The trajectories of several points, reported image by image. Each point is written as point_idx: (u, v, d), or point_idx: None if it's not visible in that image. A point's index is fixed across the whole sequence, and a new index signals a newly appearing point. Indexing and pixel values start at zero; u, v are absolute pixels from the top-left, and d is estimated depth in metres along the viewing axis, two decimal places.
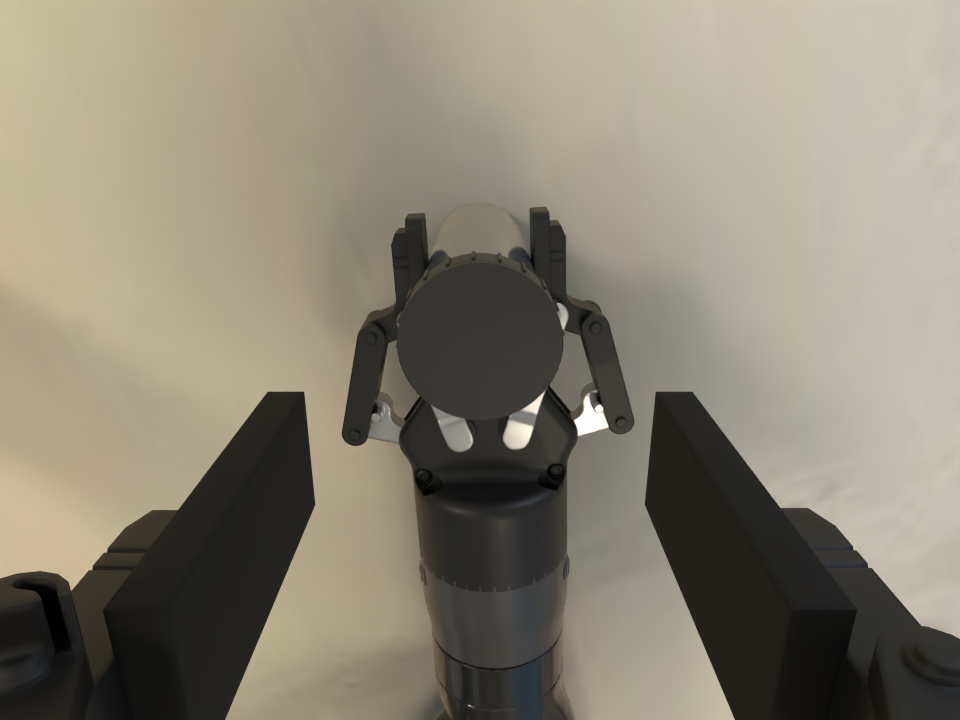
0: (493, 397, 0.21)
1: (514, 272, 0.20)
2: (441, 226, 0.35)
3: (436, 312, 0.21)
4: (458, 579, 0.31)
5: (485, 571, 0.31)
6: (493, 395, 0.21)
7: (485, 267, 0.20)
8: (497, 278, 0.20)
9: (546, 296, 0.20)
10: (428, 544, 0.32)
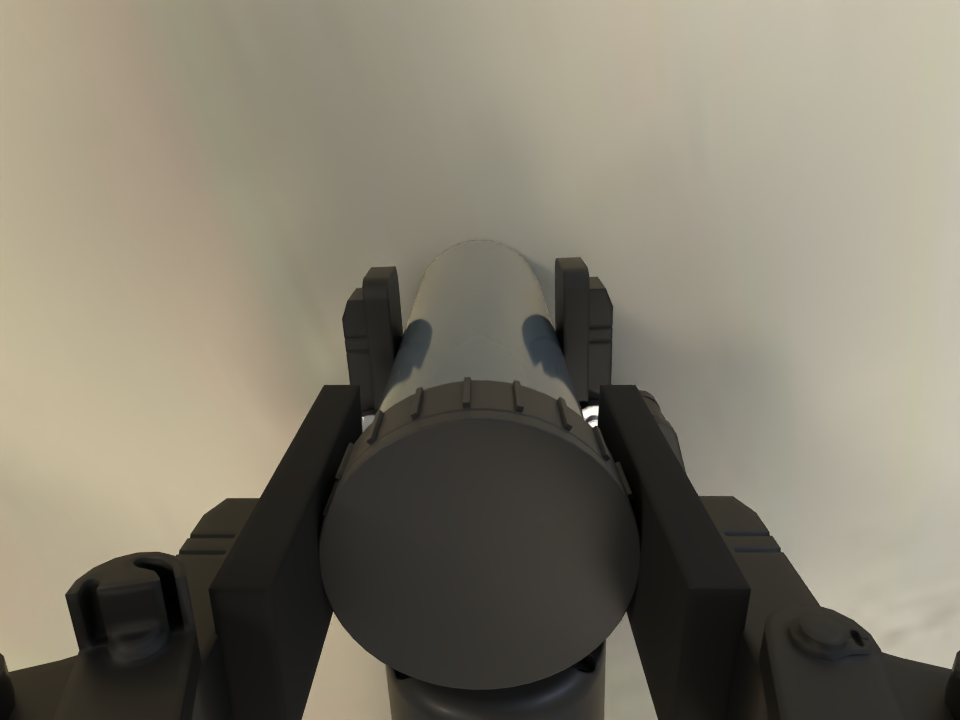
0: (505, 653, 0.11)
1: (549, 437, 0.10)
2: (425, 273, 0.25)
3: (393, 509, 0.10)
4: None
5: None
6: (505, 650, 0.11)
7: (490, 428, 0.10)
8: (514, 448, 0.10)
9: (612, 480, 0.10)
10: None
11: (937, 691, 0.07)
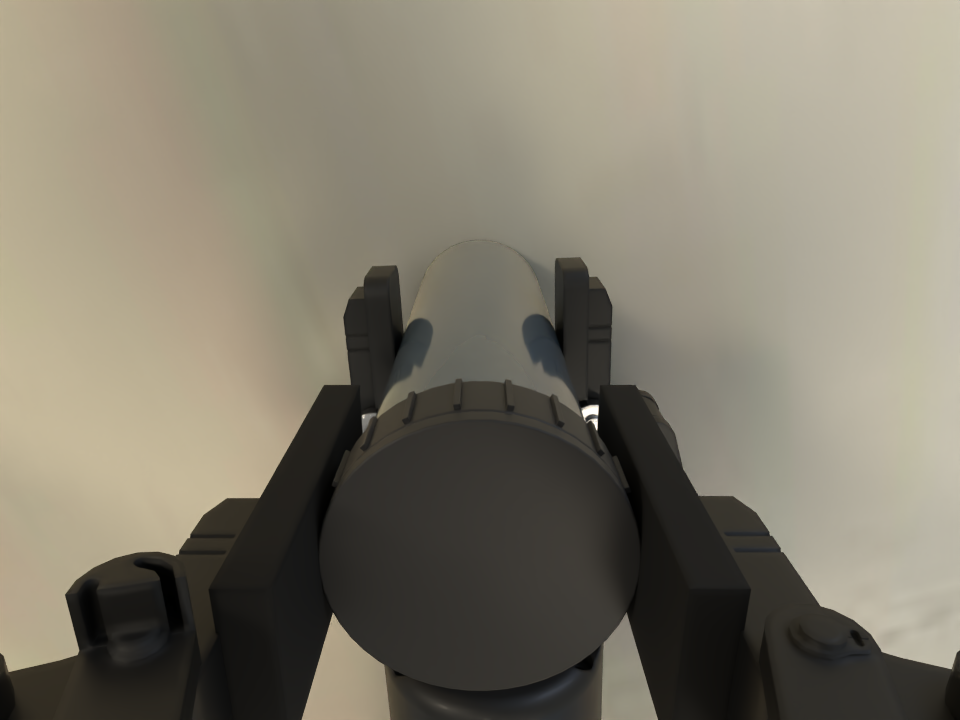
0: (576, 510, 0.10)
1: (321, 560, 0.11)
2: (426, 272, 0.25)
3: (449, 647, 0.11)
4: None
5: None
6: (572, 512, 0.10)
7: (336, 605, 0.11)
8: (345, 581, 0.11)
9: (337, 495, 0.10)
10: None
11: (937, 691, 0.07)
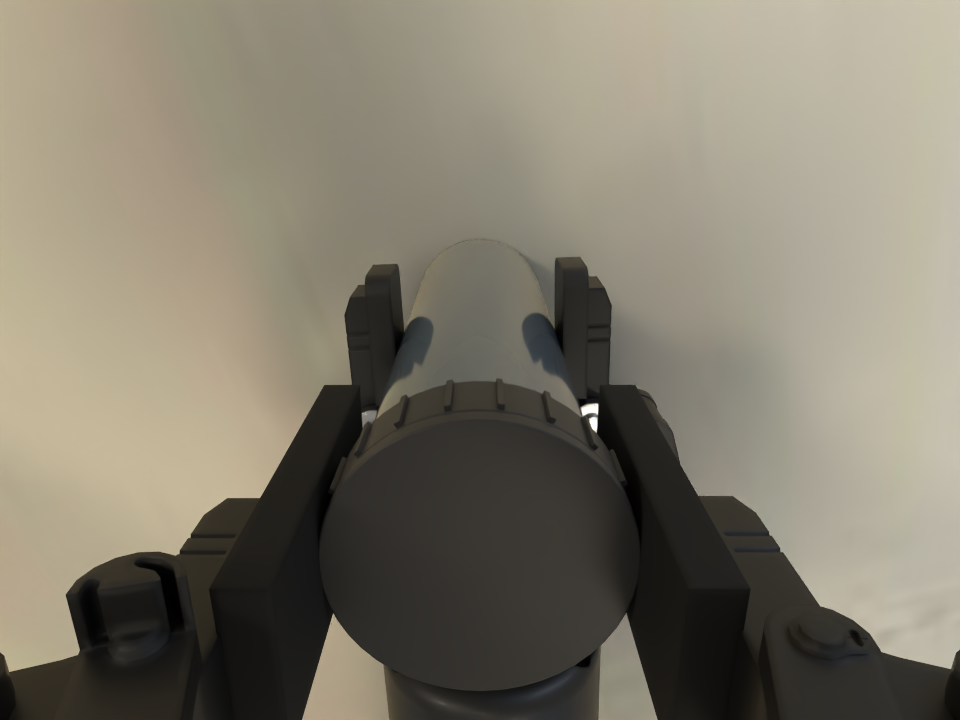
0: (381, 511, 0.10)
1: (525, 682, 0.12)
2: (426, 271, 0.25)
3: (586, 561, 0.11)
4: None
5: None
6: (385, 515, 0.10)
7: (570, 662, 0.11)
8: (540, 660, 0.11)
9: (454, 687, 0.12)
10: None
11: (937, 691, 0.07)
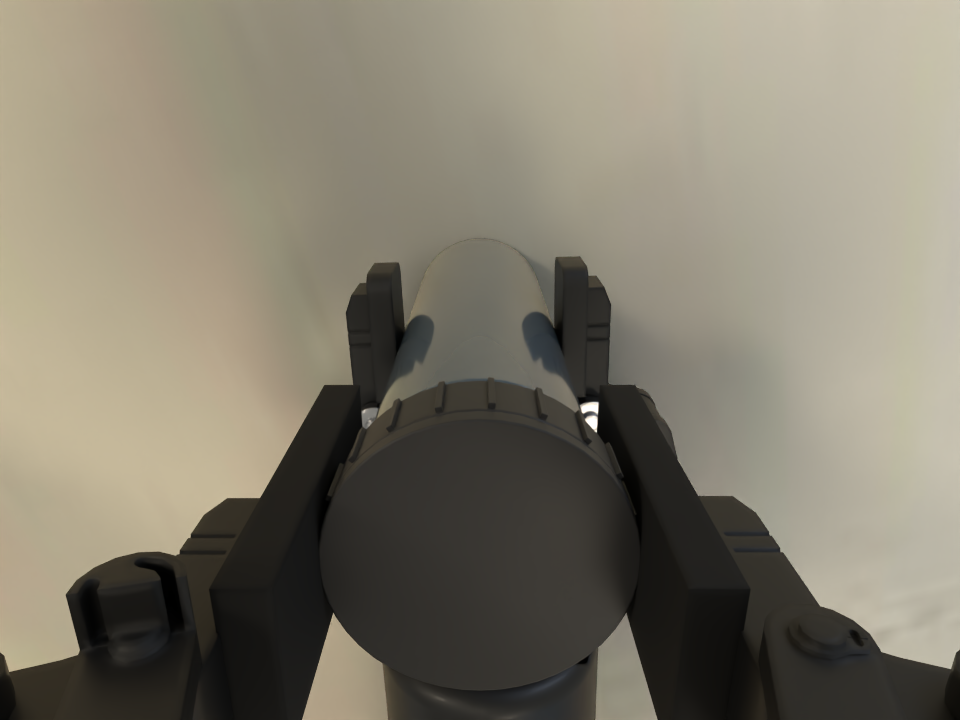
0: (455, 654, 0.11)
1: (608, 479, 0.10)
2: (427, 270, 0.25)
3: (432, 482, 0.10)
4: None
5: None
6: (457, 651, 0.11)
7: (563, 448, 0.10)
8: (572, 475, 0.10)
9: (638, 540, 0.11)
10: None
11: (937, 691, 0.07)
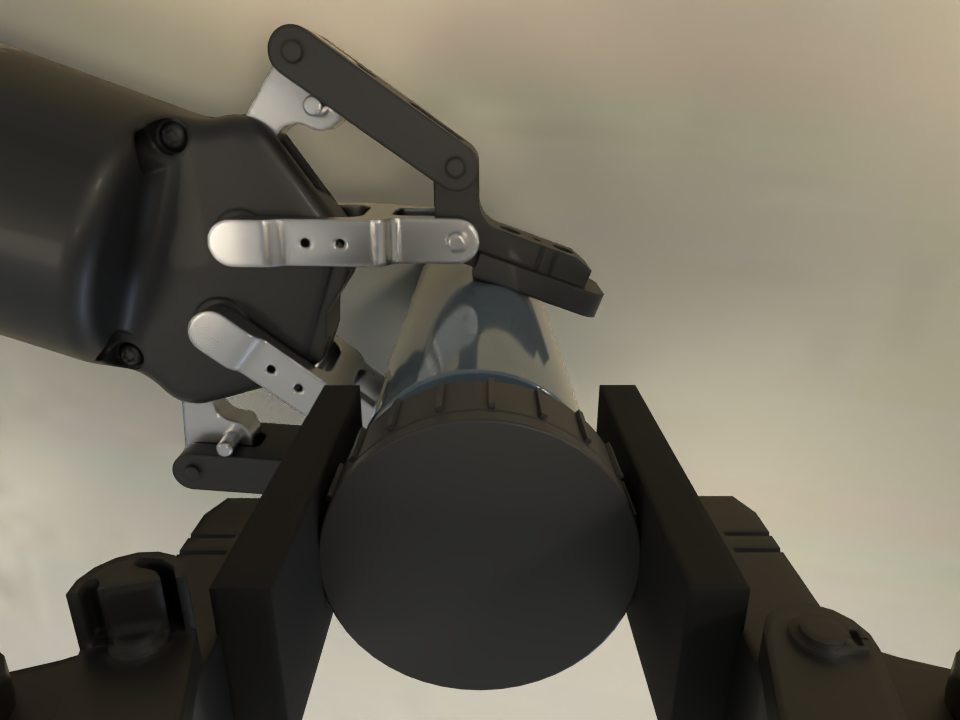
0: (455, 654, 0.11)
1: (608, 478, 0.10)
2: None
3: (432, 482, 0.10)
4: None
5: None
6: (457, 651, 0.11)
7: (562, 448, 0.10)
8: (572, 475, 0.10)
9: (638, 540, 0.11)
10: (20, 97, 0.16)
11: (936, 691, 0.07)
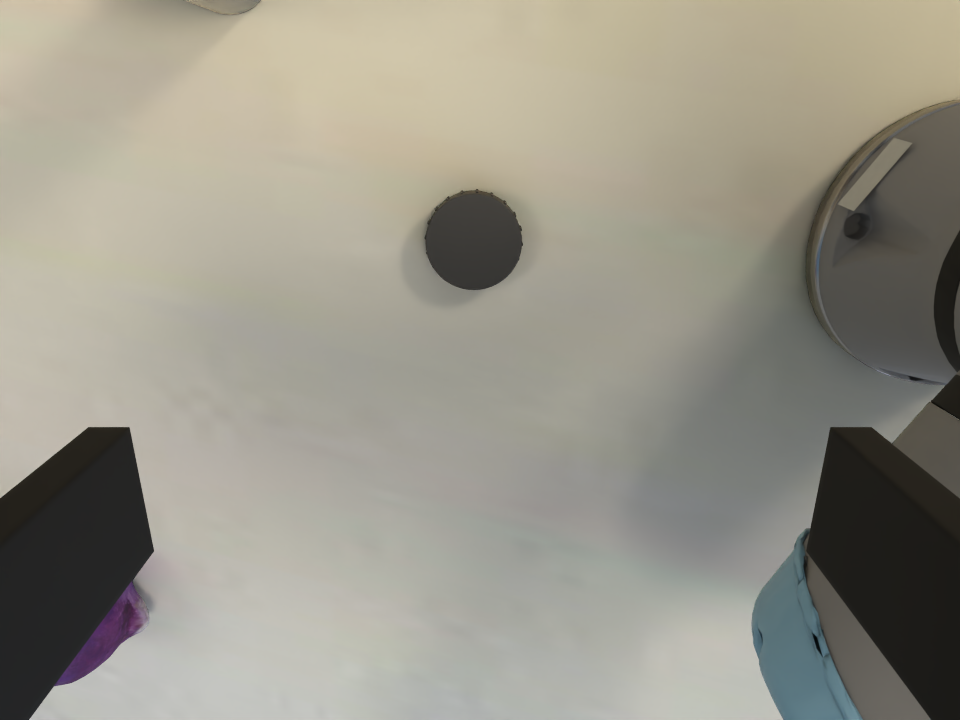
0: (466, 275, 0.37)
1: (510, 212, 0.36)
2: None
3: (460, 214, 0.36)
4: None
5: None
6: (467, 274, 0.37)
7: (497, 202, 0.35)
8: (500, 211, 0.36)
9: (520, 233, 0.36)
10: None
11: None
